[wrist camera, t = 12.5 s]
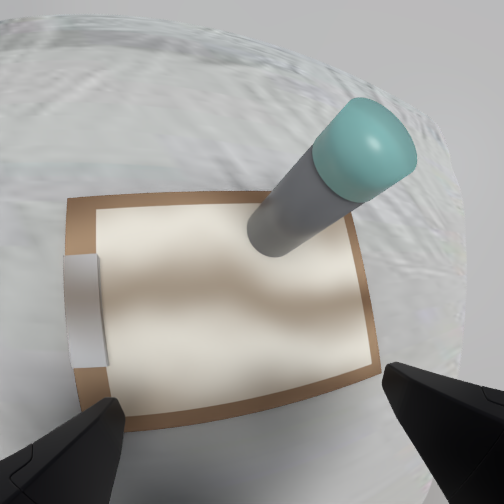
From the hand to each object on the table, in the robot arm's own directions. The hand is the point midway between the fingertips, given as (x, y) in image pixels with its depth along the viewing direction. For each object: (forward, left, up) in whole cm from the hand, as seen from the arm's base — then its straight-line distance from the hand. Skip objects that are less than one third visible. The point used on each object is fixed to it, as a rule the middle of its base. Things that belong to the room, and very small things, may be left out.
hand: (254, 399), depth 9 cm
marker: (+8, -5, -8) cm, 13 cm away
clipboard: (+4, -2, -9) cm, 10 cm away
